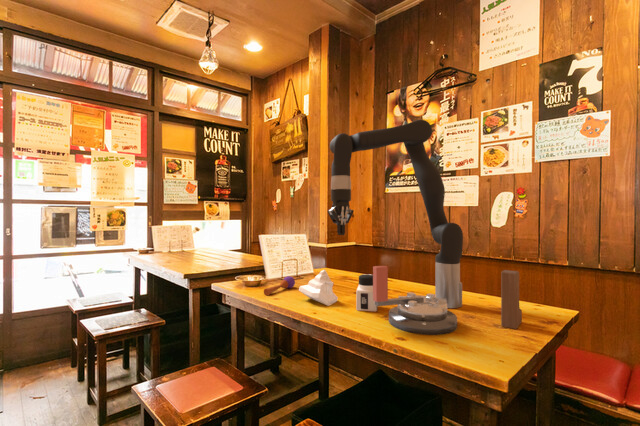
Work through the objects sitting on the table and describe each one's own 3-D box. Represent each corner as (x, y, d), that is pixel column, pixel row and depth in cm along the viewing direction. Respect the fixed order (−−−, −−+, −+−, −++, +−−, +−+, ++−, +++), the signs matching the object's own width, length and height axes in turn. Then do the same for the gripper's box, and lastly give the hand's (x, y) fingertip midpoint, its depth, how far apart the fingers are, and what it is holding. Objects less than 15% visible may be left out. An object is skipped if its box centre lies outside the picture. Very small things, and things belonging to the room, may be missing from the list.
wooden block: (507, 319, 116) (507, 268, 116) (521, 322, 113) (521, 269, 113) (501, 326, 109) (501, 271, 109) (516, 329, 106) (516, 273, 106)
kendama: (260, 286, 152) (286, 275, 169) (262, 299, 152) (288, 287, 169) (270, 285, 149) (295, 274, 166) (272, 298, 149) (298, 286, 166)
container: (376, 311, 125) (376, 277, 125) (356, 310, 127) (356, 276, 127) (377, 306, 133) (377, 273, 133) (358, 305, 134) (358, 272, 134)
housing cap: (437, 312, 125) (437, 303, 125) (470, 333, 103) (470, 322, 103) (380, 314, 122) (380, 305, 122) (402, 336, 100) (402, 325, 100)
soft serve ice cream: (320, 299, 149) (328, 268, 150) (340, 310, 137) (348, 276, 137) (297, 295, 142) (305, 263, 143) (315, 307, 130) (324, 271, 131)
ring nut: (428, 304, 122) (428, 260, 122) (457, 318, 107) (458, 267, 107) (364, 310, 115) (364, 263, 115) (386, 326, 100) (386, 271, 100)
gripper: (344, 189, 132) (344, 233, 132) (321, 188, 122) (321, 235, 122) (359, 188, 126) (359, 234, 127) (337, 187, 117) (337, 236, 117)
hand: (341, 234), depth 124 cm, fingers closed
